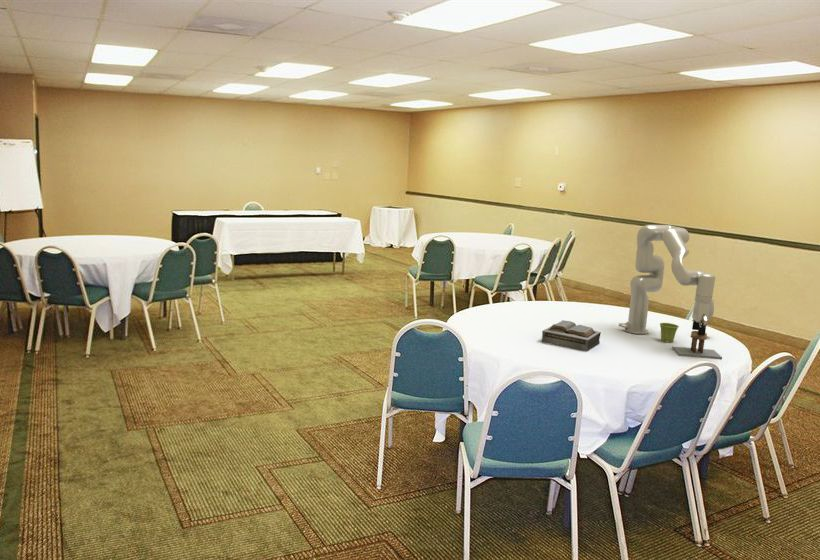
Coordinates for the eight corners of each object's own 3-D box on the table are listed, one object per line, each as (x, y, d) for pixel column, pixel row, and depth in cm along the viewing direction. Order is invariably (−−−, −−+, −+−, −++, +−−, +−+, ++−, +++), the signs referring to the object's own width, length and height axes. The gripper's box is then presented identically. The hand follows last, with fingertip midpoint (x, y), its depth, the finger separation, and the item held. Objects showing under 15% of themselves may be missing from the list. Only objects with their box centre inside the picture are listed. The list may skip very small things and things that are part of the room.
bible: (559, 334, 350) (561, 316, 348) (606, 345, 332) (608, 326, 330) (535, 341, 334) (536, 322, 332) (582, 353, 315) (584, 334, 313)
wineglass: (711, 339, 353) (716, 301, 349) (696, 338, 354) (701, 300, 350) (708, 335, 360) (713, 298, 356) (693, 334, 361) (698, 297, 358)
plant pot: (676, 339, 348) (678, 324, 347) (677, 344, 339) (679, 328, 338) (657, 337, 351) (659, 321, 350) (658, 341, 342) (659, 325, 341)
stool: (691, 353, 321) (693, 334, 319) (687, 349, 327) (689, 330, 326) (706, 354, 320) (708, 335, 318) (702, 350, 327) (704, 331, 325)
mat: (678, 355, 319) (679, 353, 318) (672, 348, 331) (672, 346, 331) (721, 359, 316) (722, 357, 316) (713, 351, 329) (713, 349, 329)
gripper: (690, 294, 328) (685, 327, 331) (700, 302, 311) (695, 336, 314) (706, 295, 327) (701, 328, 330) (717, 303, 310) (711, 338, 313)
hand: (698, 332), depth 322 cm, fingers open, 9 cm apart
